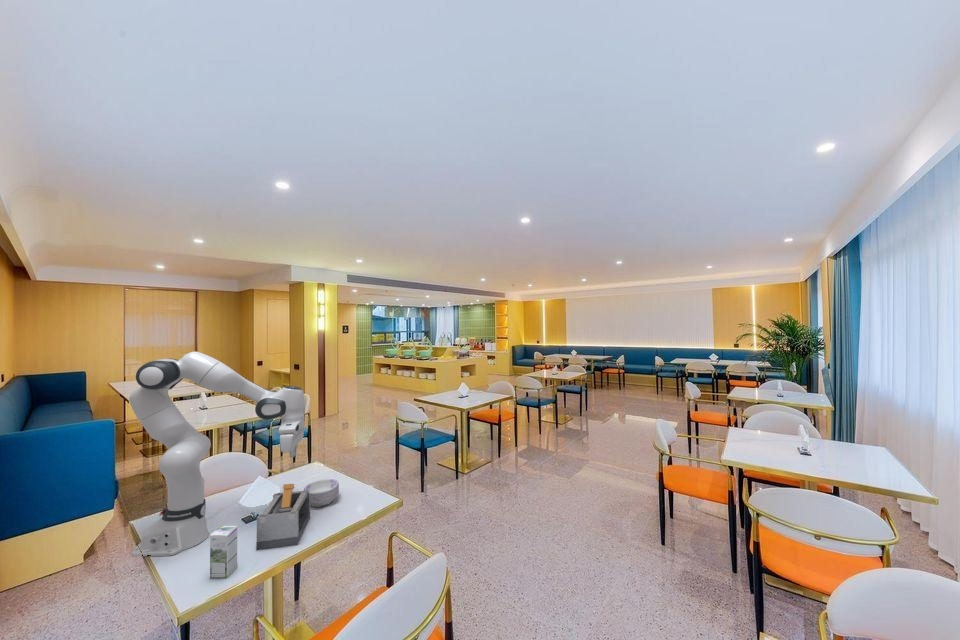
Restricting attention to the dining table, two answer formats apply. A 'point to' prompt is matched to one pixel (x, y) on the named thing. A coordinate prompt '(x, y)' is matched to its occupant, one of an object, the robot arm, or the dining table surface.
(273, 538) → the grey storage bin
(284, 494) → the lever
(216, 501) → the dining table surface
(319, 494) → the paper bowls
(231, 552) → the syrup box
